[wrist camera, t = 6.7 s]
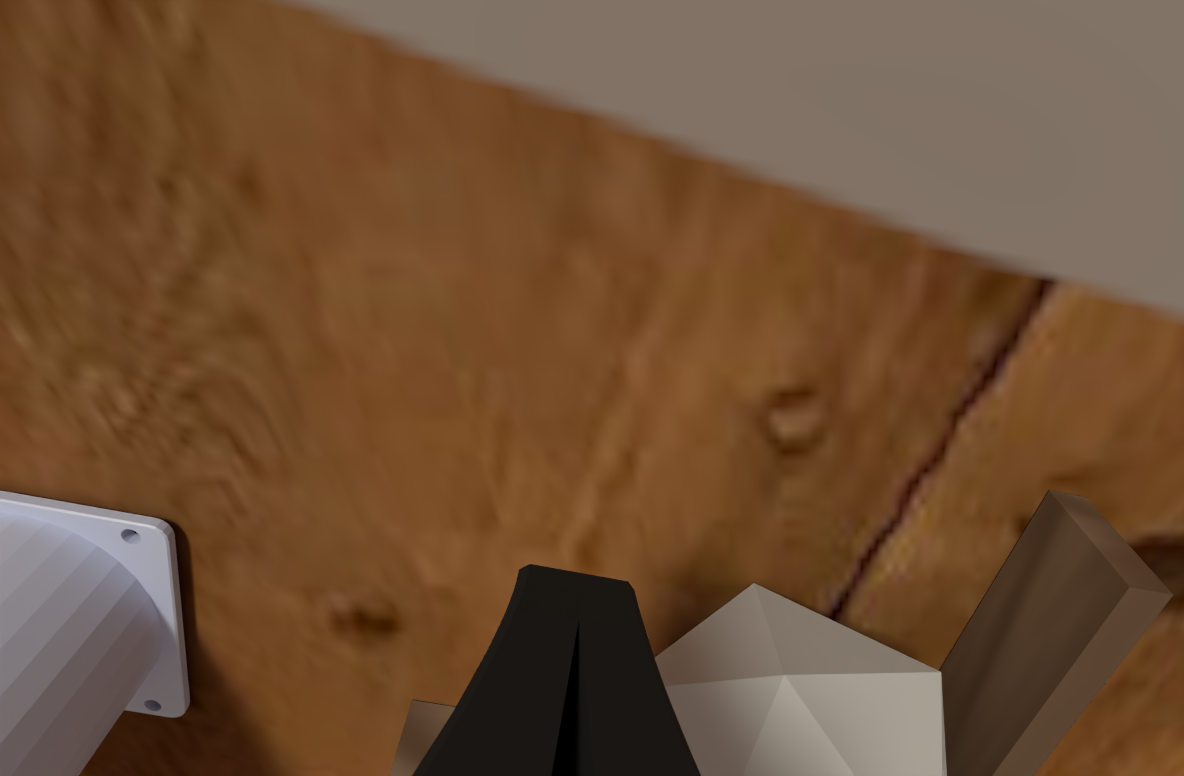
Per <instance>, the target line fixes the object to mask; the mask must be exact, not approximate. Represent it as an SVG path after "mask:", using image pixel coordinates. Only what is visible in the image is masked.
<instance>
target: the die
mask: <svg viewBox="0 0 1184 776" xmlns="http://www.w3.org/2000/svg"><path fill="white" fill-rule="evenodd" d="M655 661H656V663H657V666H658V669H659V672H660V675H661V678H662V681H663V683H664V686H665V689H666V691H667V694H668V696H669V699H670V702H671V704H672V707H673V709H674V712H675V714H676V717H677V719H678V721H679V724H680V726H681V729H682V731H683V734H684V736H685V739H686V741H687V743H688V746H689V748H690V751H691V753H692V756H693V758H694V760H695V763H696V765H697V767H698V769H699V772H700V774H701V776H947V768H946V750H945V731H944V713H943V695H942V677H941V672H940V671H938V670H936V669H934V668H932V667H929V666H927V665H925V664H923V663H921V662H919V661H917V660H915V659H913V658H911V657H908V656H906V655H904V654H902V653H900V652H898V651H896V650H894V649H892V648H890V647H887V646H885V645H883V644H881V643H879V642H877V641H875V640H873V639H871V638H869V637H866V636H864V635H862V634H860V633H858V632H856V631H854V630H852V629H850V628H847V627H845V626H843V625H841V624H839V623H837V622H835V621H833V620H831V619H829V618H826V617H824V616H822V615H820V614H818V613H816V612H814V611H812V610H810V609H808V608H805V607H803V606H801V605H799V604H797V603H795V602H793V601H791V600H789V599H787V598H784V597H782V596H780V595H778V594H776V593H774V592H772V591H770V590H768V589H766V588H763V587H761V586H759V585H757V584H755V583H753V584H752V585H751V586H749V587H748V588H747V589H745V590H744V591H743V592H741V593H740V594H739V595H737V596H736V597H735V598H733V599H732V600H731V601H729V602H728V603H727V604H725V605H724V606H723V607H721V608H720V609H719V610H717V611H716V612H715V613H713V614H712V615H711V616H709V617H708V618H707V619H705V620H704V621H703V622H701V623H700V624H699V625H697V626H696V627H695V628H693V629H692V630H691V631H689V632H688V633H687V634H685V635H684V636H683V637H681V638H680V639H679V640H677V641H676V642H675V643H673V644H672V645H671V646H670V647H668V648H667V649H666V650H664V651H663V652H662V653H660V654H659V655H658V656H656V657H655Z"/></svg>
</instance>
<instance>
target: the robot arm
mask: <svg viewBox="0 0 1184 776" xmlns="http://www.w3.org/2000/svg"><path fill="white" fill-rule="evenodd" d="M132 530H133V531H136V532H137V533H138V534H136V533H134V532H133V531H132ZM189 705H190V694H189V683H188V672H187V662H186V651H185V640H184V629H183V618H182V608H181V597H180V586H179V575H178V564H177V554H176V543H175V534H174V531H173V529H172V528H171V526H170V525H169V524H168V523H166V522H165V521H163V520H161V519H158V518H153V517H148V516H142V515H136V514H131V513H125V512H119V511H114V510H108V509H102V508H97V507H91V506H85V505H80V504H74V503H68V502H63V501H57V500H51V499H46V498H40V497H34V496H29V495H23V494H17V493H12V492H6V491H0V776H79V774H80V773H81V772H82V770H83V769H84V767H85V766H86V764H87V763H88V761H89V760H90V759H91V757H92V756H93V754H94V753H95V751H96V750H97V748H98V747H99V746H100V744H101V743H102V741H103V740H104V738H105V737H106V735H107V734H108V732H109V731H110V730H111V728H112V727H113V725H114V724H115V722H116V721H117V719H118V718H119V717H120V715H121V714H122V712H123V711H124V710H127V711H133V712H139V713H145V714H152V715H158V716H164V717H172V718H176V717H179V716H182V715H183V714H184V713H185V712H186V710H187V708H188V707H189ZM412 776H701V774H700V772H699V769H698V767H697V765H696V763H695V760H694V758H693V756H692V753H691V751H690V748H689V746H688V743H687V741H686V739H685V736H684V734H683V731H682V729H681V726H680V724H679V721H678V719H677V717H676V714H675V712H674V709H673V707H672V704H671V702H670V699H669V696H668V694H667V691H666V689H665V686H664V683H663V681H662V678H661V675H660V672H659V669H658V666H657V663H656V661H655V658H654V655H653V652H652V649H651V646H650V643H649V640H648V637H647V634H646V631H645V627H644V624H643V621H642V617H641V614H640V610H639V607H638V603H637V599H636V595H635V591H634V589H633V588H632V586H631V585H630V584H629V582H628V581H622V580H616V579H611V578H605V577H600V576H594V575H588V574H583V573H577V572H572V571H566V570H560V569H555V568H549V567H544V566H538V565H532V564H529V565H527V566H525V567H523V568H521V569H519V573H518V577H517V581H516V585H515V588H514V591H513V594H512V597H511V600H510V602H509V605H508V607H507V610H506V612H505V615H504V617H503V619H502V621H501V624H500V626H499V628H498V630H497V632H496V634H495V636H494V638H493V640H492V642H491V644H490V646H489V648H488V650H487V652H486V654H485V656H484V658H483V660H482V661H481V663H480V665H479V667H478V669H477V670H476V672H475V674H474V676H473V678H472V679H471V681H470V683H469V685H468V687H467V688H466V690H465V692H464V694H463V695H462V697H461V699H460V701H459V703H458V704H457V706H456V708H455V709H454V711H453V713H452V714H451V716H450V717H449V719H448V721H447V722H446V724H445V725H444V727H443V728H442V730H441V731H440V733H439V734H438V736H437V738H436V739H435V741H434V742H433V744H432V745H431V747H430V748H429V750H428V752H427V753H426V755H425V756H424V758H423V759H422V761H421V762H420V764H419V765H418V767H417V769H416V770H415V772H414V773H413V775H412Z"/></svg>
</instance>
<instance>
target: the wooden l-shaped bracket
mask: <svg viewBox="0 0 1184 776" xmlns="http://www.w3.org/2000/svg"><path fill="white" fill-rule="evenodd" d="M1172 596H1173V594H1172V593H1171V592H1170V591H1169V590H1168V589H1167V588H1166V586H1165V585H1164V584H1163V583H1162V582H1161V581H1160V580H1159V579H1158V577H1157V576H1156V575H1155V574H1154V573H1153V572H1152V571H1151V570H1150V569H1149V567H1148V566H1147V565H1146V564H1145V563H1144V562H1143V561H1142V560H1141V558H1140V557H1139V556H1138V555H1137V554H1136V553H1135V552H1134V551H1133V550H1132V548H1131V547H1130V546H1129V545H1128V544H1127V543H1126V542H1125V541H1124V539H1123V538H1122V537H1121V536H1120V535H1119V534H1118V533H1117V532H1116V531H1115V529H1114V528H1113V527H1112V526H1111V525H1110V524H1109V523H1108V522H1107V520H1106V519H1105V518H1104V517H1103V516H1102V515H1101V514H1100V513H1099V512H1098V510H1097V509H1096V508H1095V507H1094V506H1093V505H1092V504H1091V503H1090V501H1089V500H1088V499H1087V498H1086V497H1081V496H1076V495H1071V494H1066V493H1061V492H1055V491H1050V490H1049V491H1048V493H1047V495H1046V496H1045V498H1044V500H1043V501H1042V503H1041V504H1040V506H1039V508H1038V509H1037V511H1036V513H1035V514H1034V516H1033V518H1032V519H1031V521H1030V523H1029V524H1028V526H1027V527H1026V529H1025V531H1024V532H1023V534H1022V536H1021V537H1020V539H1019V541H1018V542H1017V544H1016V546H1015V547H1014V549H1013V550H1012V552H1011V554H1010V555H1009V557H1008V559H1007V560H1006V562H1005V564H1004V565H1003V567H1002V569H1001V570H1000V572H999V573H998V575H997V577H996V578H995V580H994V582H993V583H992V585H991V587H990V588H989V590H988V592H987V593H986V595H985V596H984V598H983V600H982V601H981V603H980V605H979V606H978V608H977V610H976V611H975V613H974V615H973V616H972V618H971V619H970V621H969V623H968V624H967V626H966V628H965V629H964V631H963V633H962V634H961V636H960V638H959V639H958V641H957V642H956V644H955V646H954V647H953V649H952V651H951V652H950V654H949V656H948V657H947V659H946V661H945V662H944V664H943V665H942V667H941V669H940V670H939V671H940V672H941V677H942V695H943V713H944V731H945V750H946V768H947V776H1034V775H1035V773H1036V772H1037V771H1038V769H1039V768H1040V767H1041V766H1042V764H1043V763H1044V762H1045V760H1046V759H1047V758H1048V757H1049V755H1050V754H1051V753H1052V751H1053V750H1054V749H1055V747H1056V746H1057V745H1058V744H1059V742H1060V741H1061V740H1062V738H1063V737H1064V736H1065V735H1066V733H1067V732H1068V731H1069V729H1070V728H1071V727H1072V725H1073V724H1074V723H1075V722H1076V720H1077V719H1078V718H1079V716H1080V715H1081V714H1082V712H1083V711H1084V710H1085V709H1086V707H1087V706H1088V705H1089V703H1090V702H1091V701H1092V700H1093V698H1094V697H1095V696H1096V694H1097V693H1098V692H1099V690H1100V689H1101V688H1102V687H1103V685H1104V684H1105V683H1106V681H1107V680H1108V679H1109V678H1110V676H1111V675H1112V674H1113V672H1114V671H1115V670H1116V668H1117V667H1118V666H1119V665H1120V663H1121V662H1122V661H1123V659H1124V658H1125V657H1126V656H1127V654H1128V653H1129V652H1130V650H1131V649H1132V648H1133V646H1134V645H1135V644H1136V643H1137V641H1138V640H1139V639H1140V637H1141V636H1142V635H1143V633H1144V632H1145V631H1146V630H1147V628H1148V627H1149V626H1150V624H1151V623H1152V622H1153V621H1154V619H1155V618H1156V617H1157V615H1158V614H1159V613H1160V611H1161V610H1162V609H1163V608H1164V606H1165V605H1166V604H1167V602H1168V601H1169V600H1170V599H1171V597H1172ZM455 708H456V707H452V706H446V705H440V704H434V703H428V702H421V701H415V700H412V702H411V705H410V708H409V712H408V715H407V718H406V722H405V725H404V728H403V732H402V735H401V738H400V742H399V745H398V749H397V752H396V755H395V759H394V762H393V765H392V769H391V772H390V775H389V776H412V775H413V773H414V772H415V770H416V769H417V767H418V765H419V764H420V762H421V761H422V759H423V758H424V756H425V755H426V753H427V752H428V750H429V748H430V747H431V745H432V744H433V742H434V741H435V739H436V738H437V736H438V734H439V733H440V731H441V730H442V728H443V727H444V725H445V724H446V722H447V721H448V719H449V717H450V716H451V714H452V713H453V711H454V709H455Z"/></svg>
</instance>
